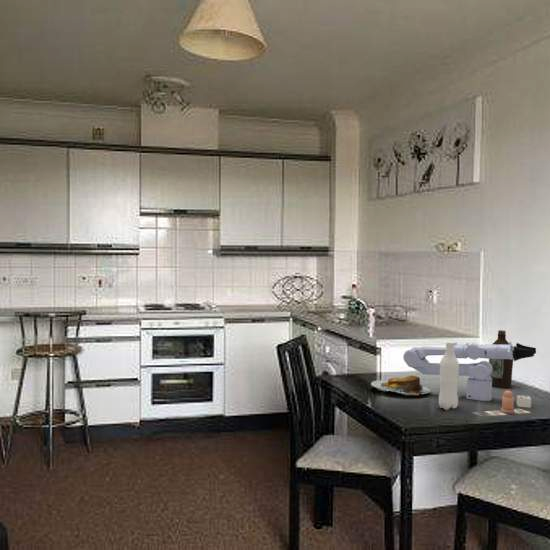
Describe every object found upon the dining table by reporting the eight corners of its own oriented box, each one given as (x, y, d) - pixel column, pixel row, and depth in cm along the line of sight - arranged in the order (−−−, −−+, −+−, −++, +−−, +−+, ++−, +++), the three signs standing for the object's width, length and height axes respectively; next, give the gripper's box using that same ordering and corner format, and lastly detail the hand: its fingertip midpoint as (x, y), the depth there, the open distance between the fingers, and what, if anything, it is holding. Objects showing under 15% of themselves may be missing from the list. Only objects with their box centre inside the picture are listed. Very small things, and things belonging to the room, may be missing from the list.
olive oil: (495, 382, 282) (497, 328, 281) (517, 386, 273) (519, 331, 272) (482, 385, 275) (484, 330, 274) (504, 389, 267) (506, 333, 266)
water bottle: (458, 411, 228) (461, 345, 227) (439, 410, 229) (441, 344, 228) (456, 407, 235) (458, 342, 234) (437, 405, 236) (439, 341, 235)
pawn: (500, 412, 224) (500, 390, 224) (501, 409, 228) (502, 388, 228) (513, 414, 222) (514, 392, 222) (515, 411, 226) (515, 390, 226)
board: (483, 419, 217) (483, 417, 217) (470, 414, 224) (470, 412, 224) (532, 415, 225) (532, 412, 225) (518, 410, 231) (518, 408, 231)
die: (518, 409, 233) (518, 397, 233) (516, 406, 238) (516, 395, 238) (530, 410, 232) (531, 398, 232) (528, 407, 237) (529, 395, 236)
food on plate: (371, 384, 274) (371, 369, 273) (427, 387, 270) (428, 372, 270) (371, 397, 249) (371, 381, 248) (433, 401, 245) (434, 385, 244)
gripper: (494, 343, 235) (532, 344, 229) (500, 339, 248) (536, 339, 242) (495, 362, 235) (533, 362, 229) (501, 356, 248) (537, 357, 242)
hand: (534, 352), depth 235 cm, fingers open, 7 cm apart
